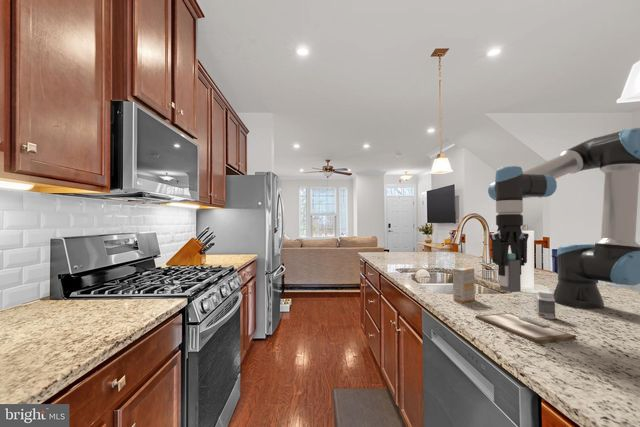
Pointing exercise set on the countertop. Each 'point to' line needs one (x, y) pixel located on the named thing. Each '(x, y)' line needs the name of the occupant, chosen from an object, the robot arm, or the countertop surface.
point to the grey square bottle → (513, 274)
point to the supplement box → (463, 284)
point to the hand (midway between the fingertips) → (510, 285)
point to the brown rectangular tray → (526, 327)
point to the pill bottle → (546, 305)
